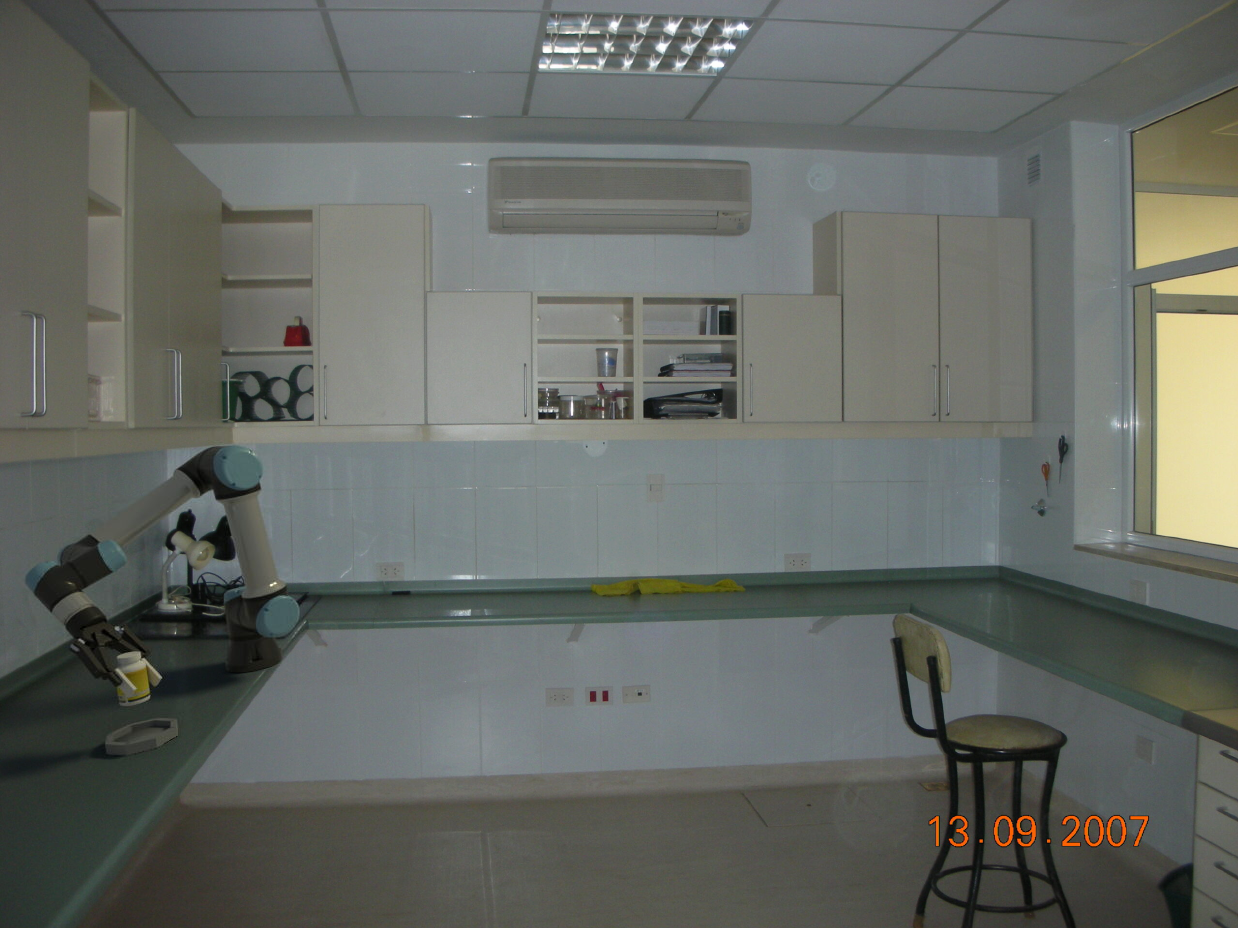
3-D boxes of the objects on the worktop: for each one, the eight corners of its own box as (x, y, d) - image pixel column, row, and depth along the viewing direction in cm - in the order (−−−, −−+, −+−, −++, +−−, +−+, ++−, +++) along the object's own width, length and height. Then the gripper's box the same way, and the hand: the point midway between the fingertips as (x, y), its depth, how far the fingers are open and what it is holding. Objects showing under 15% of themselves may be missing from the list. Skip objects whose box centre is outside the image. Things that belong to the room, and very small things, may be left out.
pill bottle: (156, 695, 189) (149, 648, 188) (141, 705, 183) (135, 657, 182) (128, 697, 189) (122, 651, 188) (113, 707, 182) (106, 660, 181)
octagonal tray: (144, 726, 196) (143, 717, 195) (191, 729, 191) (190, 719, 191) (92, 753, 182) (90, 742, 182) (141, 756, 178) (140, 745, 178)
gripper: (109, 615, 198) (172, 682, 194) (33, 640, 179) (100, 715, 176) (123, 594, 196) (187, 661, 192) (47, 617, 177) (116, 692, 174)
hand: (145, 687), depth 184 cm, fingers closed on pill bottle, 6 cm apart
